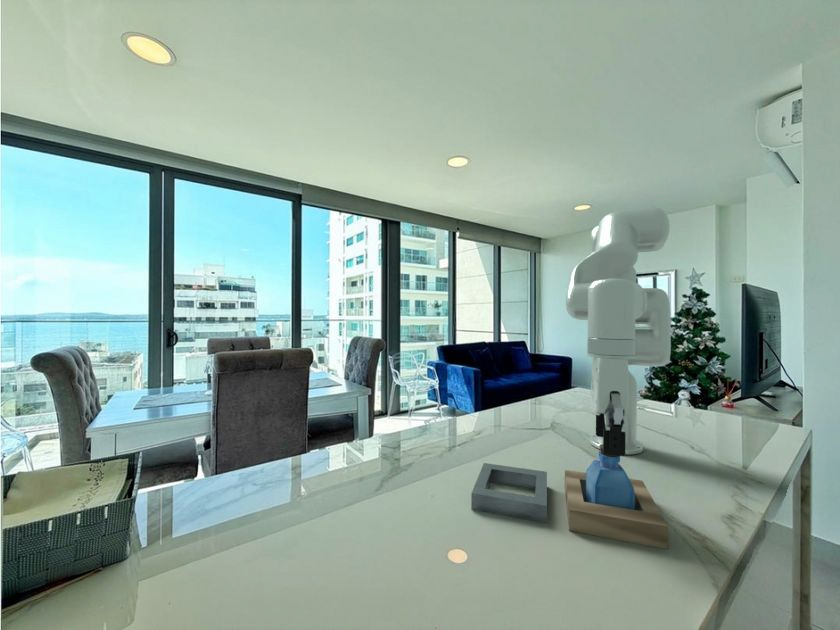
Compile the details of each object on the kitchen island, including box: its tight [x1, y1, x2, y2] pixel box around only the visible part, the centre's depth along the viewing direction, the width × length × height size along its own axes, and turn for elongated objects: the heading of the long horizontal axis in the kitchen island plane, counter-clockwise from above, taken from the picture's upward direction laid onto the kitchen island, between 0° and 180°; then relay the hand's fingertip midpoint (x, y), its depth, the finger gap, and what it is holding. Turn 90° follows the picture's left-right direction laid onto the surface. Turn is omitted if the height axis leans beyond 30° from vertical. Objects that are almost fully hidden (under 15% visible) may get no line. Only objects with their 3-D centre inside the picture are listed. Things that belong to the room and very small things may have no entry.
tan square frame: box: [564, 469, 669, 550], centre depth 66 cm, size 16×14×4 cm
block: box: [470, 462, 548, 524], centre depth 72 cm, size 14×13×3 cm
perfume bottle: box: [585, 444, 634, 510], centre depth 66 cm, size 6×6×12 cm
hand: (609, 445), depth 65 cm, fingers open, 9 cm apart
